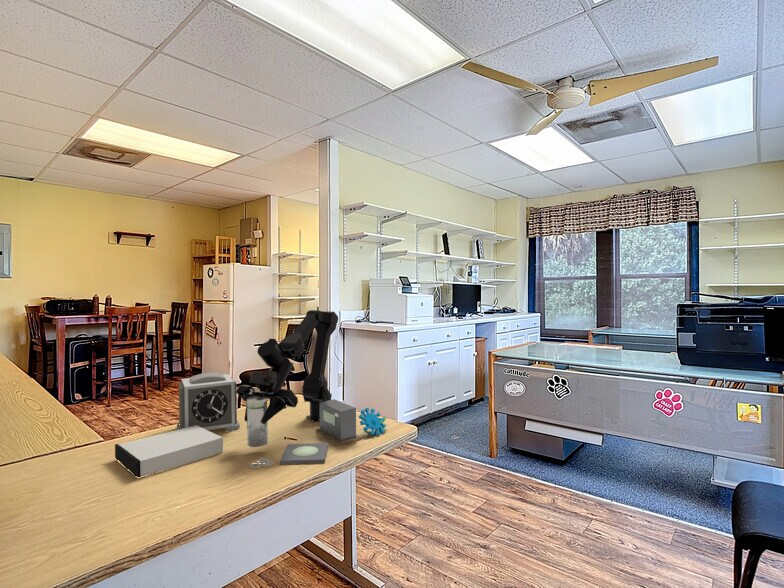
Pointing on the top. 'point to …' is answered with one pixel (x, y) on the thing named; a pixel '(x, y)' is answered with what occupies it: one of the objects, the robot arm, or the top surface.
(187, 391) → the alarm clock
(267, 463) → the mounting bracket
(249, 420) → the canister
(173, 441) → the disc drive
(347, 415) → the control unit
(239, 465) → the top surface
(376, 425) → the gear
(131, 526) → the top surface
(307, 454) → the pad
